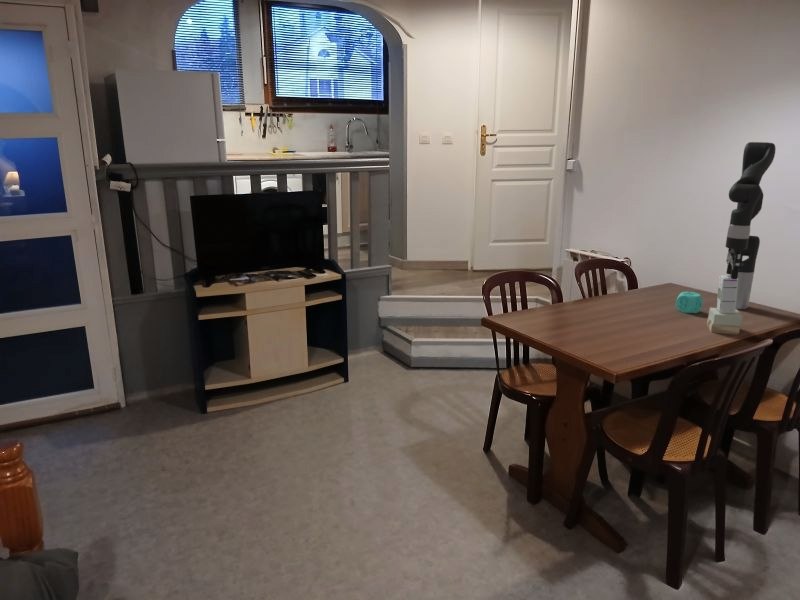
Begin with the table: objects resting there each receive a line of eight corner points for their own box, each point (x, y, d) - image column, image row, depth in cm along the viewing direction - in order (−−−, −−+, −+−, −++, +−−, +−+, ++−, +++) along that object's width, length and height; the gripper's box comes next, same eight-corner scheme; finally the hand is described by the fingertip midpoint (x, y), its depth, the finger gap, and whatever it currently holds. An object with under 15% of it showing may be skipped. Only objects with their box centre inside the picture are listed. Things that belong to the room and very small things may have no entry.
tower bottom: (706, 325, 244) (708, 316, 243) (733, 327, 241) (734, 318, 240) (710, 333, 235) (712, 323, 234) (738, 335, 232) (740, 326, 231)
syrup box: (735, 313, 233) (739, 278, 229) (719, 313, 234) (723, 277, 230) (731, 309, 238) (735, 275, 234) (715, 309, 239) (719, 274, 236)
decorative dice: (701, 311, 262) (704, 294, 260) (691, 314, 258) (694, 297, 256) (684, 307, 268) (686, 290, 266) (674, 310, 264) (677, 293, 262)
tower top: (708, 316, 243) (709, 307, 242) (735, 318, 240) (736, 309, 239) (713, 323, 234) (714, 314, 233) (741, 326, 231) (742, 316, 230)
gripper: (753, 239, 220) (746, 281, 224) (744, 233, 233) (738, 273, 237) (730, 238, 222) (724, 280, 227) (723, 232, 235) (717, 271, 240)
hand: (731, 276), depth 232 cm, fingers open, 8 cm apart
